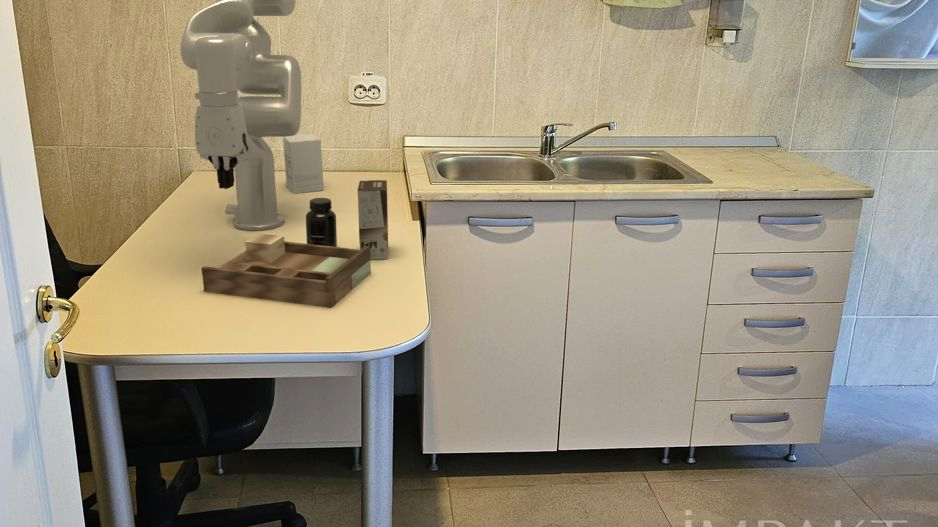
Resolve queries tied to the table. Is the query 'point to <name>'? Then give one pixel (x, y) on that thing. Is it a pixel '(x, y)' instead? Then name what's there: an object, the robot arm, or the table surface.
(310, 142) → the supplement box
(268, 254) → the maple block
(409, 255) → the table surface
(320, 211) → the supplement bottle
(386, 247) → the coffee box
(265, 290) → the box
